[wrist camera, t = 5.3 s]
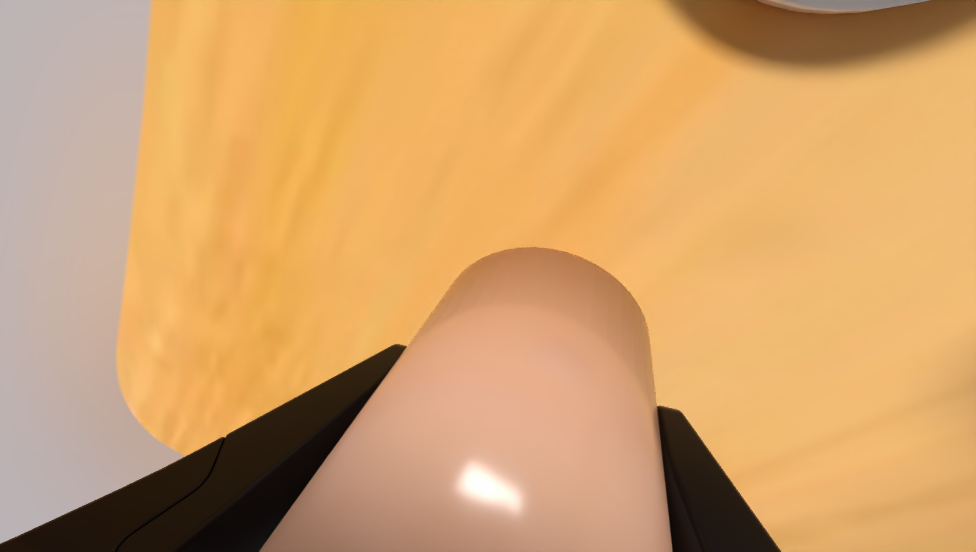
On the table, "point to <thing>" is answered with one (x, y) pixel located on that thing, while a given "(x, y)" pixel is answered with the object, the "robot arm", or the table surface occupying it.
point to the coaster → (836, 5)
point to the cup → (502, 426)
